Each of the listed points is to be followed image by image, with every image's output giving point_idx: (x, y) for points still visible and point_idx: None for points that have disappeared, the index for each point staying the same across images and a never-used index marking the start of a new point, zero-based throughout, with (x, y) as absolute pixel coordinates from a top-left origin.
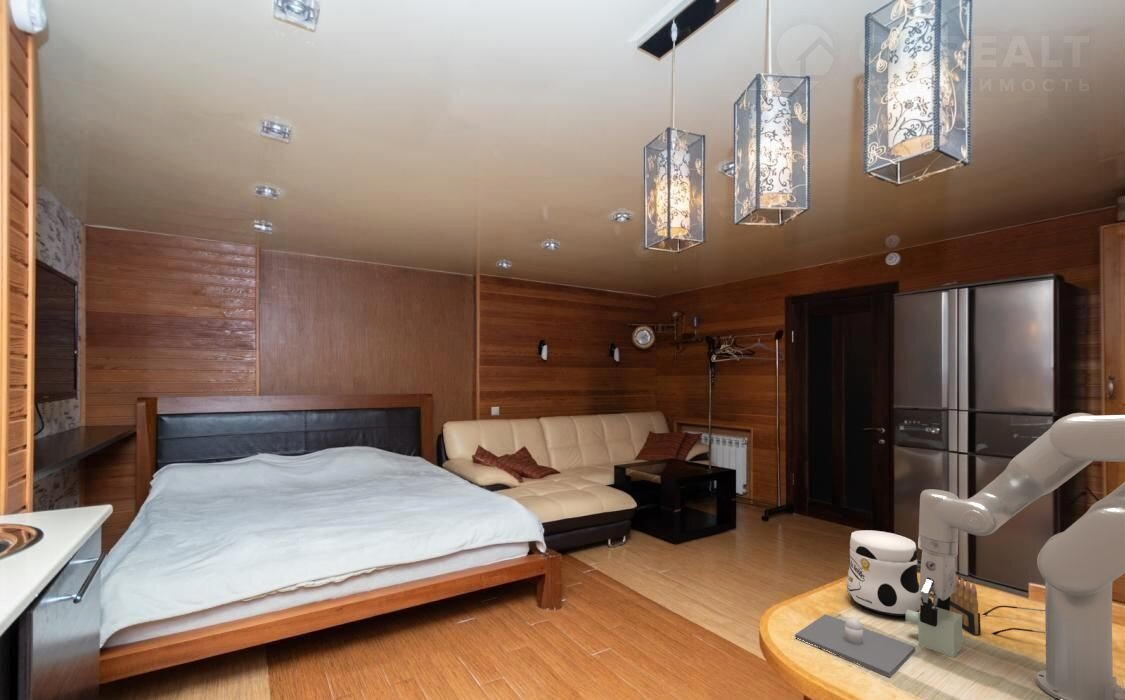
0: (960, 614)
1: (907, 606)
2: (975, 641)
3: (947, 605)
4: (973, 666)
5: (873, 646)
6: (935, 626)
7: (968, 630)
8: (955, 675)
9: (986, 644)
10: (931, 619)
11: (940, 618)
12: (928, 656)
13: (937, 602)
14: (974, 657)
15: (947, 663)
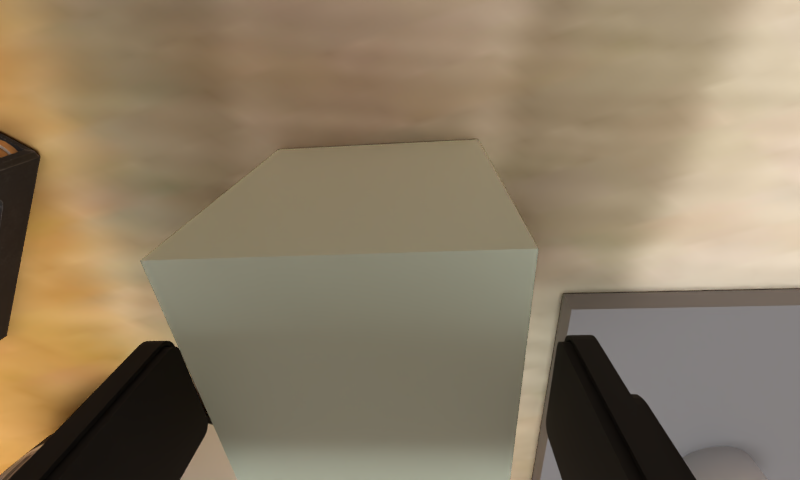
0: (152, 273)
1: (217, 471)
2: (109, 120)
3: (124, 414)
4: (509, 8)
5: (725, 416)
6: (593, 337)
7: (23, 190)
8: (751, 52)
9: (73, 56)
10: (651, 415)
11: (486, 367)
12: (577, 235)
13: (161, 475)
14: (355, 49)
15: (594, 140)
